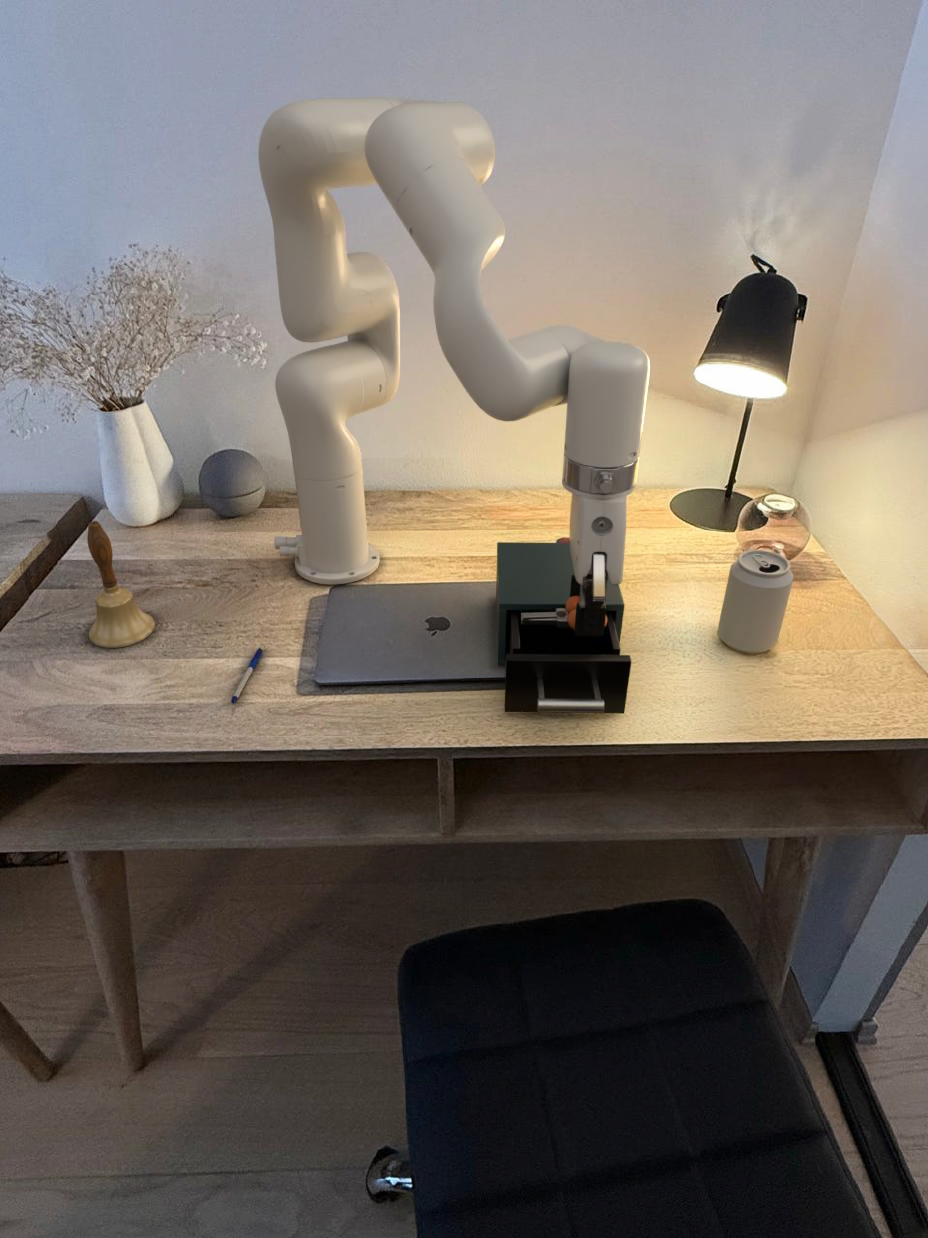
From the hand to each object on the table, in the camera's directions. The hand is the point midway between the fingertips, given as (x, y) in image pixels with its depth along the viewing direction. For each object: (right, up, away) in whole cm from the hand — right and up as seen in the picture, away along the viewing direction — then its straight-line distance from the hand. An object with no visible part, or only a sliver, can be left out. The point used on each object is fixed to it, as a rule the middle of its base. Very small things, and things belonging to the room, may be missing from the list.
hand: (585, 618), depth 93 cm
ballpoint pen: (-40, -7, +7) cm, 42 cm away
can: (+23, -3, +14) cm, 27 cm away
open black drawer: (-2, -8, +4) cm, 9 cm away
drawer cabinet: (-2, -2, +15) cm, 16 cm away
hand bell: (-59, -2, +16) cm, 61 cm away
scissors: (-2, 0, 0) cm, 2 cm away
